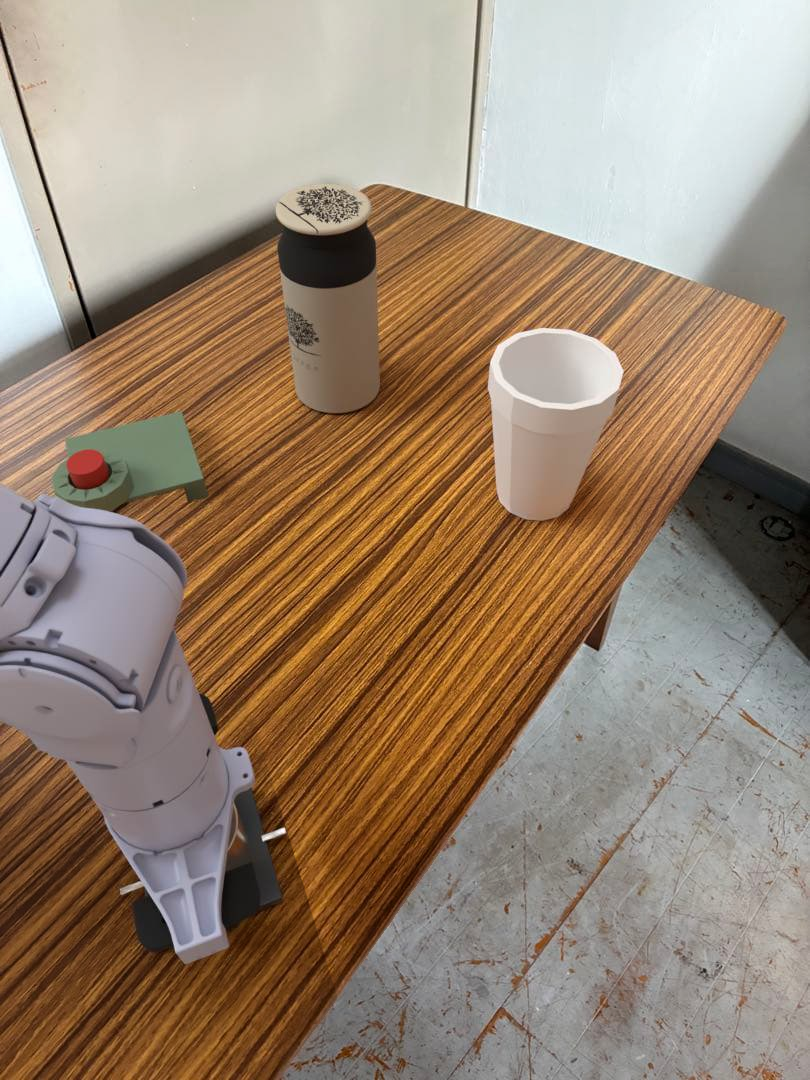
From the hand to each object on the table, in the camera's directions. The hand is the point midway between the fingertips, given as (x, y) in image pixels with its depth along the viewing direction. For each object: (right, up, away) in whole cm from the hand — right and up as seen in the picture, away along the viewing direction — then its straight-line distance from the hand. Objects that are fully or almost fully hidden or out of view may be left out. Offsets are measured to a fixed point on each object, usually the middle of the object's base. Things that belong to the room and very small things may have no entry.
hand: (204, 858), depth 46 cm
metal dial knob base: (0, -2, +2) cm, 3 cm away
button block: (-11, +23, +24) cm, 35 cm away
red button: (-13, +23, +19) cm, 32 cm away
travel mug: (+5, +32, +32) cm, 45 cm away
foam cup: (+22, +22, +23) cm, 38 cm away
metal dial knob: (0, 0, 0) cm, 0 cm away
